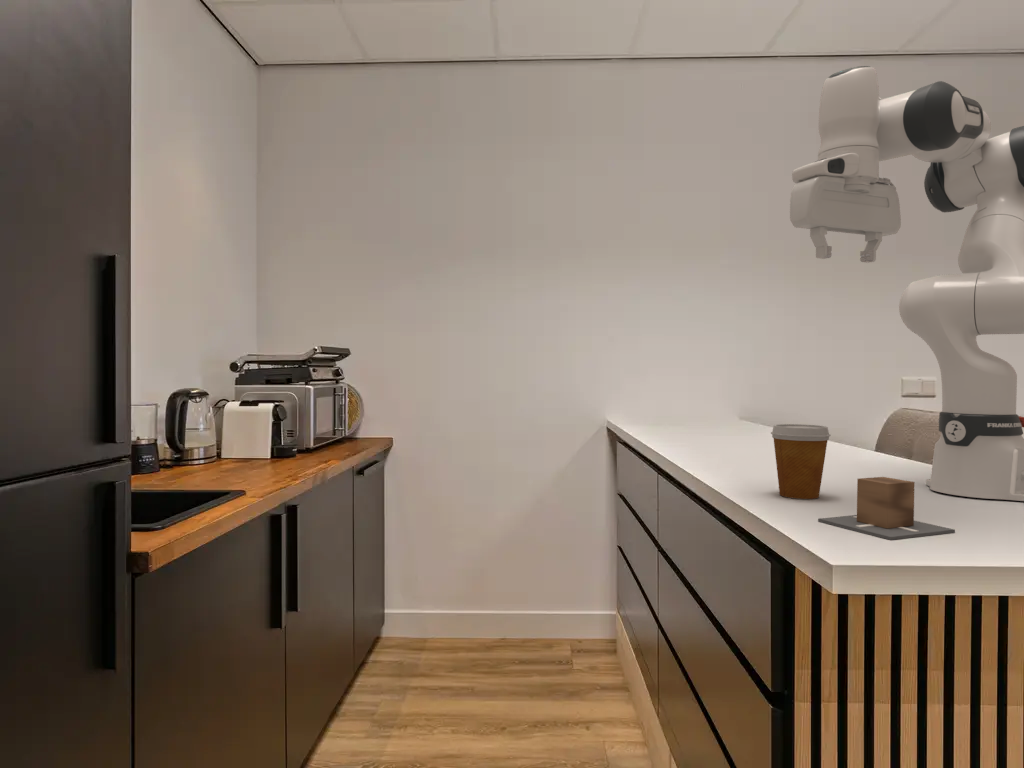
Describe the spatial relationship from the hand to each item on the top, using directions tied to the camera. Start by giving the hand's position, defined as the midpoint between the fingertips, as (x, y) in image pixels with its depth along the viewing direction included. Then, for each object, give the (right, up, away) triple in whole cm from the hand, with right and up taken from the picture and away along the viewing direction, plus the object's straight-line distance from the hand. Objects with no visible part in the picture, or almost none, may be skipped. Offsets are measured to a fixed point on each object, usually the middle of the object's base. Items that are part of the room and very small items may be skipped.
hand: (846, 260), depth 116 cm
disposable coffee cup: (-4, -39, +9) cm, 40 cm away
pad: (-1, -40, -15) cm, 42 cm away
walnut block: (-1, -39, -15) cm, 42 cm away
